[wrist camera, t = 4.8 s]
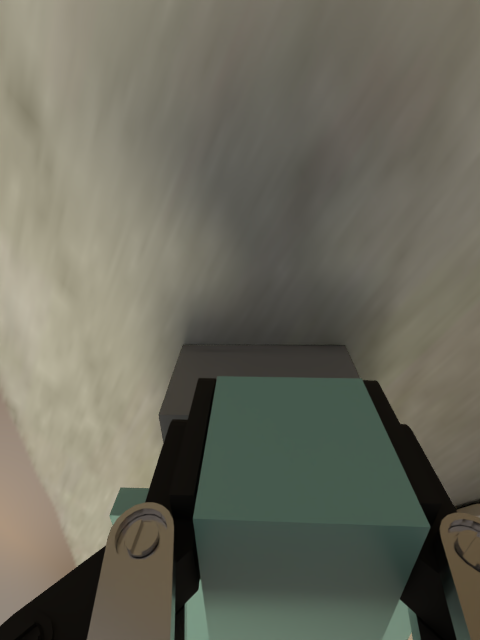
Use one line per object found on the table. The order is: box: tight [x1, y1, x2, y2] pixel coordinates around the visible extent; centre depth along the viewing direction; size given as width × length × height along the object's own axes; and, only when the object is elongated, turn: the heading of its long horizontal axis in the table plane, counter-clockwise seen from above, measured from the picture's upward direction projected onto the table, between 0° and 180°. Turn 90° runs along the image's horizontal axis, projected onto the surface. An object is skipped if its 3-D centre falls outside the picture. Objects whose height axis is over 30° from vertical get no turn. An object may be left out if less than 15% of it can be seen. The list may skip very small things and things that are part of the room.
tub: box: [159, 345, 360, 442], centre depth 21 cm, size 16×10×6 cm, turn 1°
